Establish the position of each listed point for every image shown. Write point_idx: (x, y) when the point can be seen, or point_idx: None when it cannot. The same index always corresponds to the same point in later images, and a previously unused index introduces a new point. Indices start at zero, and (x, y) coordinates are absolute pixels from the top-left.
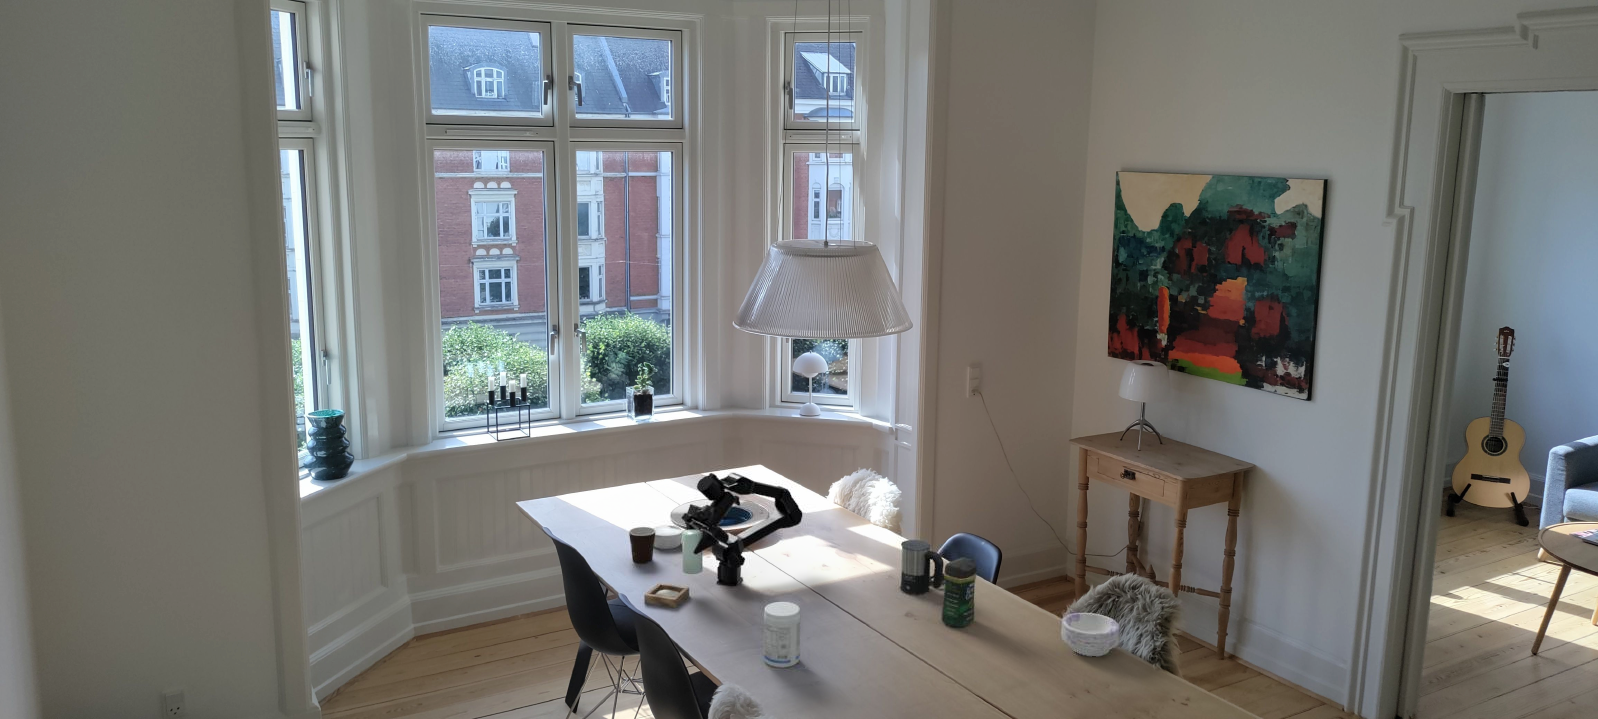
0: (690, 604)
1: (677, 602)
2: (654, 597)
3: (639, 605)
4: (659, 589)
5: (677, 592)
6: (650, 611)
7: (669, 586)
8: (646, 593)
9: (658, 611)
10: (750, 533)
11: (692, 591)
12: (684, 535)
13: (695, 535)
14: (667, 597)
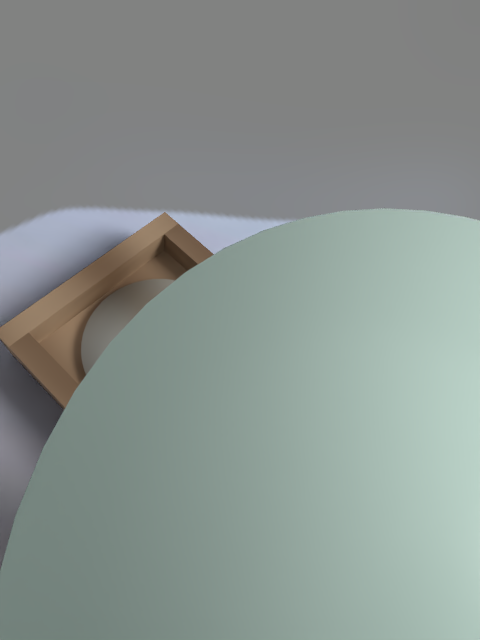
0: (8, 463)
1: (28, 370)
2: (115, 251)
3: (147, 215)
4: None
5: None
6: (45, 232)
7: None
8: (177, 226)
9: (21, 263)
10: None
11: None
12: (305, 222)
13: (69, 635)
14: (56, 303)
